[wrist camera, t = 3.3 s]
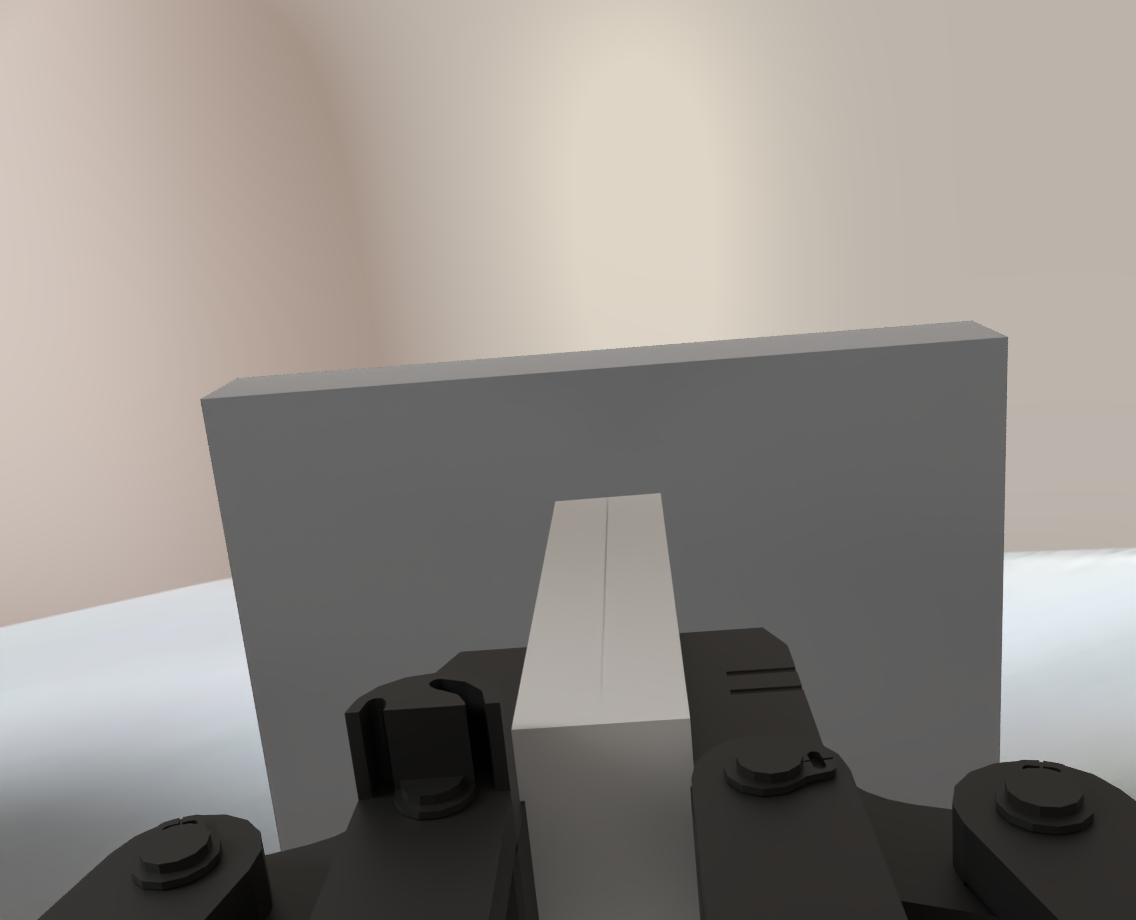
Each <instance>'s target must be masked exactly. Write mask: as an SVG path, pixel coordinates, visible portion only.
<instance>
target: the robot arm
mask: <svg viewBox="0 0 1136 920" xmlns="http://www.w3.org/2000/svg"><path fill="white" fill-rule="evenodd" d="M344 714H345V720H346V727H347V733H348V739H349V745H350V751H351V757H352V764H353V770H354V776H355V782H356V788H357V794H358V802H357V805H356V807H355V810H354V812H353V815H352V817H351V819H350V822H349V824H348V827H347V829H346V831H345V832H343V833H340V834H338V835H336V836H334V837H331V838H328V839H325V840H322V841H319V842H315V843H312V844H309V845H305V846H301V847H297V848H293V849H289V850H285V851H281V852H277V853H273V854H270V855H266V856H265V854H264V849H263V843H262V838H261V833H260V831H259V830H258V829H257V828H255V827H254V826H253V825H252V824H251V823H250V822H249V821H248V820H245V819H241V818H237V817H233V816H229V815H193V816H187V817H183V819H180V820H179V818H177V819H174V820H170V821H167V822H164V823H162V824H160V825H159V826H158V827H155V828H153V829H151V830H149V831H146V832H144V833H142V834H140V835H137V836H135V837H134V838H132V839H131V840H129V841H128V842H127V843H125V844H124V845H122V846H121V847H119V848H118V849H117V850H115V851H114V852H112V853H111V854H110V855H108V856H107V857H106V858H105V859H104V860H103V861H102V862H101V863H100V864H99V865H97V866H96V867H95V868H94V869H93V870H92V871H91V872H90V873H89V874H87V875H86V876H85V877H84V878H83V879H82V880H81V881H80V882H79V883H77V884H76V885H75V886H74V887H73V888H72V889H71V890H70V891H69V892H68V893H66V894H65V895H64V896H63V897H62V898H61V899H60V900H59V901H58V902H56V903H55V904H54V905H53V906H52V907H51V908H50V909H49V910H48V911H46V912H45V913H44V914H43V915H42V916H41V917H40V918H39V919H38V920H1136V801H1135V800H1134V799H1132V798H1131V797H1130V796H1128V795H1127V794H1126V793H1124V792H1123V791H1122V790H1120V789H1119V788H1117V787H1115V786H1113V785H1111V784H1110V783H1108V782H1106V781H1104V780H1103V779H1101V778H1099V777H1097V776H1096V775H1094V774H1090V773H1087V772H1084V771H1081V770H1077V769H1074V768H1071V767H1067V766H1065V765H1063V764H1059V763H1054V762H1047V761H1043V762H1039V760H1020V761H1015V762H1003V763H994V764H991V765H988V766H985V767H982V768H980V769H977V770H974V771H971V772H969V773H968V774H967V775H966V776H965V777H964V778H963V779H962V780H961V781H959V782H958V783H957V784H956V785H955V787H954V794H953V802H952V809H945V808H938V807H930V806H922V805H915V804H909V803H904V802H899V801H894V800H889V799H886V798H883V797H880V796H877V795H874V794H872V793H869V792H866V791H864V790H862V789H860V788H859V787H857V786H856V783H855V780H854V778H853V775H852V773H851V770H850V768H849V767H848V766H847V764H846V763H845V762H844V760H843V759H842V758H841V757H840V755H839V754H838V753H836V752H834V751H832V750H831V749H829V748H827V747H825V746H823V743H822V740H821V737H820V734H819V732H818V729H817V726H816V723H815V720H814V718H813V715H812V712H811V709H810V706H809V704H808V701H807V698H806V695H805V692H804V690H802V684H801V681H800V678H799V676H798V673H797V671H796V668H795V665H794V662H793V659H792V656H791V653H790V651H789V648H788V645H787V644H785V643H784V642H783V641H781V640H780V639H778V638H777V637H776V636H774V635H773V634H771V633H770V632H768V631H767V630H766V629H764V628H763V627H759V628H745V629H731V630H716V631H702V632H688V633H679V630H678V622H677V615H676V607H675V599H674V592H673V584H672V576H671V569H670V561H669V554H668V546H667V538H666V531H665V523H664V515H663V508H662V500H661V493H655V494H643V495H630V496H617V497H605V498H592V499H579V500H567V501H555V506H554V511H553V516H552V521H551V526H550V532H549V537H548V542H547V547H546V552H545V558H544V563H543V568H542V573H541V578H540V583H539V589H538V594H537V599H536V604H535V609H534V615H533V620H532V625H531V630H530V635H529V641H528V646H527V647H521V648H507V649H492V650H478V651H464V652H459V653H458V654H457V655H456V656H455V657H453V658H452V659H451V660H450V661H449V662H448V663H446V664H445V665H444V666H443V667H442V668H440V669H439V670H438V671H437V672H436V673H430V674H424V675H417V676H411V677H405V678H402V679H399V680H396V681H393V682H390V683H387V684H384V685H381V686H378V687H377V688H375V689H373V690H371V691H370V692H368V693H366V694H364V695H363V696H361V697H359V698H358V699H356V701H355V702H354V703H353V704H352V705H351V706H350V707H349V708H348V710H347V711H346V712H345V713H344Z"/></svg>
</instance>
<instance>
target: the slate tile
mask: <svg viewBox="0 0 1136 920" xmlns="http://www.w3.org/2000/svg"><path fill="white" fill-rule="evenodd" d="M1007 358H1008V337H1007V336H1004V335H1002V334H1000V333H998V332H995V331H994V330H991V329H989V328H987V327H985V326H982V325H980V324H978V323H976V322H974V321H963V322H950V323H939V324H938V323H937V324H925V325H913V326H899V327H886V328H874V329H861V330H848V331H835V332H822V333H810V334H797V335H784V336H771V337H758V338H746V339H733V340H721V341H708V342H695V343H682V344H669V345H656V346H643V347H632V348H618V349H606V350H592V351H581V352H567V353H556V354H555V353H554V354H541V355H528V356H516V357H503V358H492V359H491V358H490V359H479V360H478V359H477V360H466V361H452V362H439V363H428V364H413V365H401V366H388V367H376V368H362V369H350V370H337V371H325V372H311V373H298V374H287V375H273V376H261V377H247V378H237V379H235V380H233V381H231V382H230V383H228V384H226V385H225V386H223V387H221V388H219V389H217V390H216V391H214V392H212V393H210V394H209V395H207V396H205V397H203V398H202V399H201V406H202V411H203V417H204V422H205V428H206V434H207V439H208V445H209V450H210V456H211V462H212V467H213V473H214V478H215V484H216V490H217V495H218V501H219V507H220V512H221V518H222V523H223V529H224V534H225V539H226V546H227V551H228V557H229V562H230V568H231V573H232V579H233V585H234V591H235V596H236V602H237V607H238V613H239V619H240V624H241V630H242V635H243V641H244V647H245V652H246V658H247V663H248V669H249V675H250V680H251V686H252V691H253V697H254V703H255V708H256V714H257V719H258V725H259V731H260V736H261V742H262V747H263V753H264V759H265V764H266V770H267V775H268V781H269V787H270V792H271V798H272V803H273V809H274V814H275V820H276V826H277V831H278V837H279V842H280V848H281V851H285V850H289V849H293V848H297V847H301V846H305V845H309V844H312V843H315V842H319V841H322V840H325V839H328V838H331V837H334V836H336V835H338V834H340V833H343V832H345V831H346V829H347V827H348V824H349V822H350V819H351V817H352V815H353V812H354V810H355V807H356V805H357V802H358V794H357V788H356V782H355V776H354V770H353V764H352V757H351V751H350V745H349V739H348V733H347V727H346V720H345V714H344V713H345V712H346V711H347V710H348V708H349V707H350V706H351V705H352V704H353V703H354V702H355V701H356V699H358V698H359V697H361V696H363V695H364V694H366V693H368V692H370V691H371V690H373V689H375V688H377V687H378V686H381V685H384V684H387V683H390V682H393V681H396V680H399V679H402V678H405V677H411V676H417V675H424V674H430V673H436V672H437V671H438V670H439V669H440V668H442V667H443V666H444V665H445V664H446V663H448V662H449V661H450V660H451V659H452V658H453V657H455V656H456V655H457V654H458V653H459V652H464V651H478V650H492V649H507V648H521V647H527V646H528V641H529V635H530V630H531V625H532V620H533V615H534V609H535V604H536V599H537V594H538V589H539V583H540V578H541V573H542V568H543V563H544V558H545V552H546V547H547V542H548V537H549V532H550V526H551V521H552V516H553V511H554V506H555V501H567V500H579V499H592V498H605V497H617V496H630V495H643V494H655V493H661V500H662V508H663V515H664V523H665V531H666V538H667V546H668V554H669V561H670V569H671V576H672V584H673V592H674V599H675V607H676V615H677V622H678V630H679V633H688V632H702V631H716V630H731V629H745V628H759V627H763V628H764V629H766V630H767V631H768V632H770V633H771V634H773V635H774V636H776V637H777V638H778V639H780V640H781V641H783V642H784V643H785V644H787V645H788V648H789V651H790V653H791V656H792V659H793V662H794V665H795V668H796V671H797V673H798V676H799V678H800V681H801V684H802V690H804V692H805V695H806V698H807V701H808V704H809V706H810V709H811V712H812V715H813V718H814V720H815V723H816V726H817V729H818V732H819V734H820V737H821V740H822V743H823V746H825V747H827V748H829V749H831V750H832V751H834V752H836V753H838V754H839V755H840V757H841V758H842V759H843V760H844V762H845V763H846V764H847V766H848V767H849V768H850V770H851V773H852V775H853V778H854V780H855V783H856V786H857V787H859V788H860V789H862V790H864V791H866V792H869V793H872V794H874V795H877V796H880V797H883V798H886V799H889V800H894V801H899V802H904V803H909V804H915V805H922V806H930V807H938V808H945V809H952V802H953V794H954V787H955V785H956V784H957V783H958V782H959V781H961V780H962V779H963V778H964V777H965V776H966V775H967V774H968V773H969V772H971V771H974V770H977V769H980V768H982V767H985V766H988V765H991V764H994V763H1000V712H1001V662H1002V611H1003V560H1004V509H1005V507H1004V506H1005V458H1006V408H1007Z"/></svg>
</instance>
